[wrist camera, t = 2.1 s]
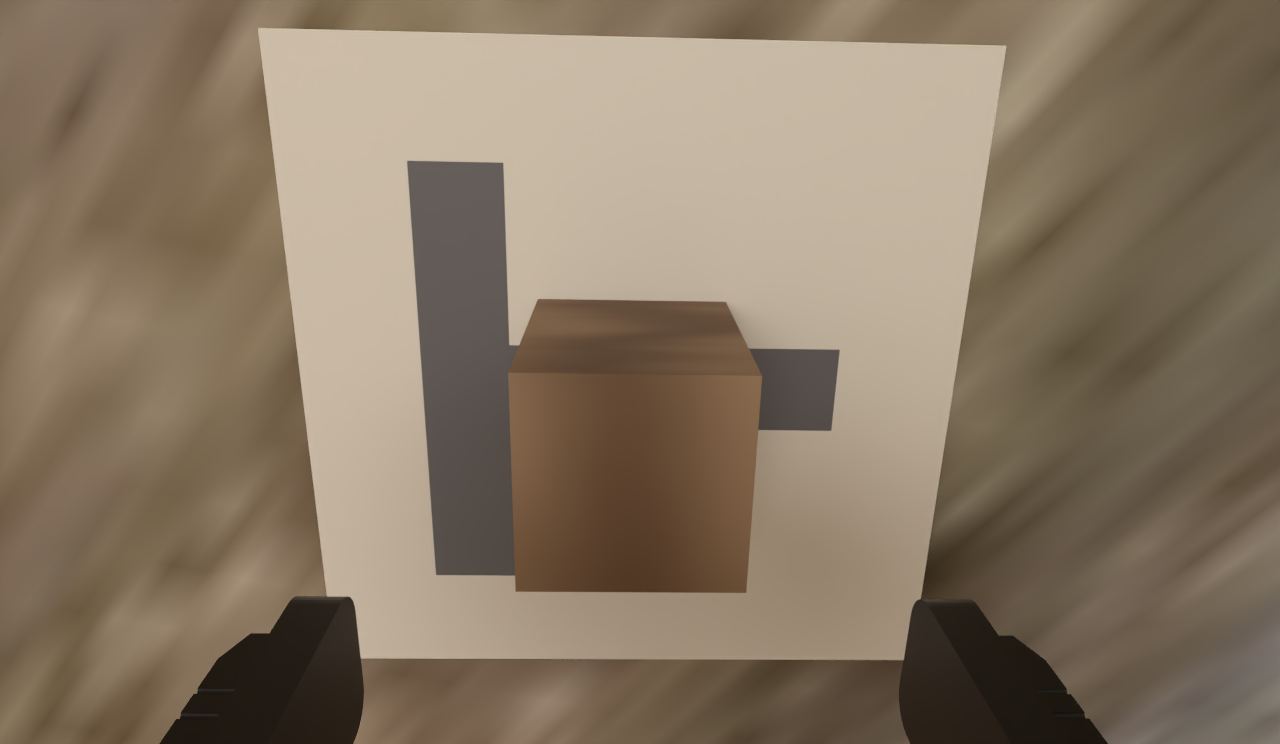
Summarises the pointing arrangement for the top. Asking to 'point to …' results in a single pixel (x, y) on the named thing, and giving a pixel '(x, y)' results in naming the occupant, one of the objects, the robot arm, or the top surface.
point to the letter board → (626, 270)
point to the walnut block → (633, 447)
